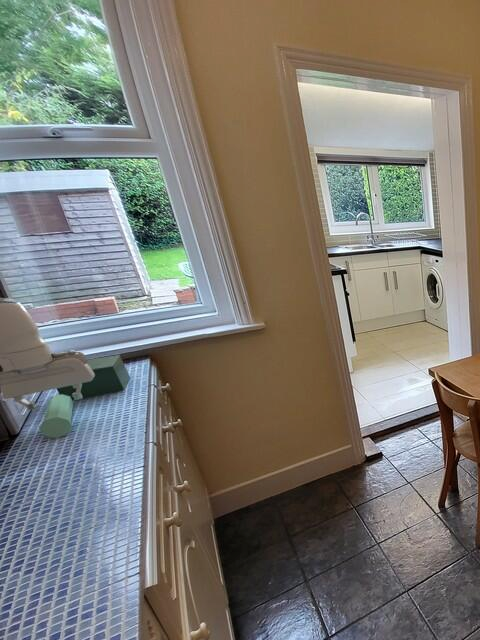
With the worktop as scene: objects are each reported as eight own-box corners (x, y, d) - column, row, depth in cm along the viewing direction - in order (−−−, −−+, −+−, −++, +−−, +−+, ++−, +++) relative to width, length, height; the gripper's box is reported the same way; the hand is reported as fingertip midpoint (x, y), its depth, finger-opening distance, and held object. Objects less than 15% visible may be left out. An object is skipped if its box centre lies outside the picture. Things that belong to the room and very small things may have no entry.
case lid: (47, 379, 125) (45, 376, 125) (59, 366, 135) (58, 364, 135) (113, 368, 133) (112, 365, 133) (120, 356, 143) (119, 354, 143)
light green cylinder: (47, 390, 122) (39, 416, 105) (76, 391, 127) (73, 416, 110) (46, 409, 123) (38, 438, 106) (75, 410, 127) (71, 437, 110)
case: (64, 402, 129) (51, 380, 126) (74, 388, 139) (63, 367, 136) (124, 390, 136) (113, 368, 133) (130, 377, 146) (120, 357, 143)
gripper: (83, 345, 117) (106, 389, 123) (-21, 364, 107) (9, 410, 113) (78, 351, 112) (102, 396, 118) (-32, 371, 102) (0, 419, 108)
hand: (56, 403), depth 115 cm, fingers open, 8 cm apart
